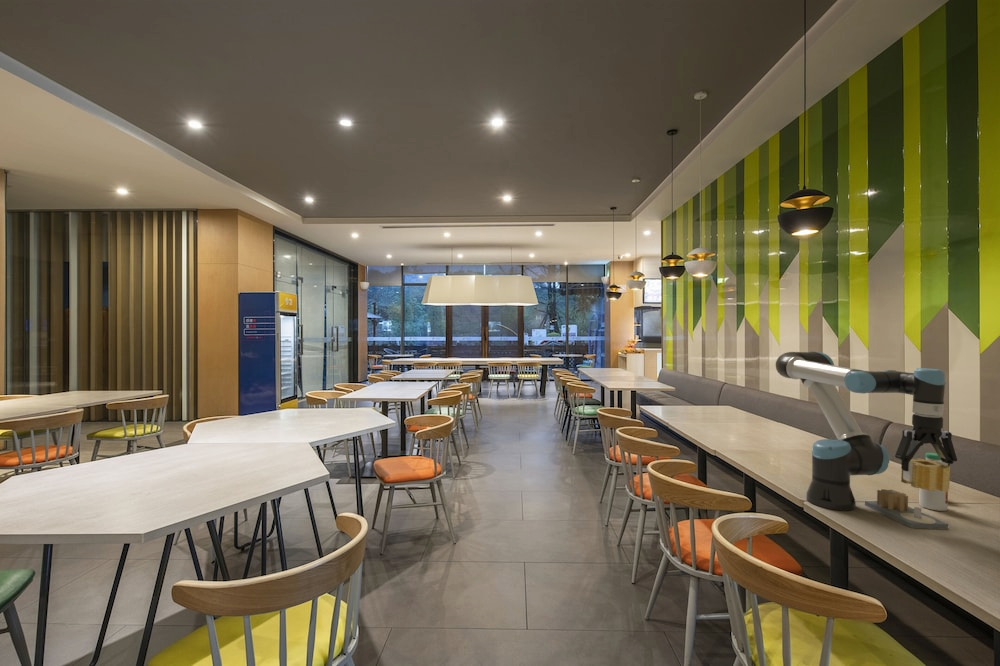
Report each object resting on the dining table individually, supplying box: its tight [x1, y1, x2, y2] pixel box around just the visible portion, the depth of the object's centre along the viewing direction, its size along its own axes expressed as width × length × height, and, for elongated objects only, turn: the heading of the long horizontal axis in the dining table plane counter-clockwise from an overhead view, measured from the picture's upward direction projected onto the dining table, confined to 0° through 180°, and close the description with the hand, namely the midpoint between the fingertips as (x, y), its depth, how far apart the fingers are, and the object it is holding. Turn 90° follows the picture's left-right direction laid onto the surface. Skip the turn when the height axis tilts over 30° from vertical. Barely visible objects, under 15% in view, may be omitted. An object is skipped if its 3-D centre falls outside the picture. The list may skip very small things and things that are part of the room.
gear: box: [900, 457, 951, 492], centre depth 152 cm, size 10×10×8 cm
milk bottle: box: [918, 452, 949, 512], centre depth 170 cm, size 8×8×20 cm
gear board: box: [864, 488, 949, 530], centre depth 161 cm, size 12×20×7 cm, turn 178°
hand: (924, 481), depth 152 cm, fingers closed on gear, 10 cm apart
